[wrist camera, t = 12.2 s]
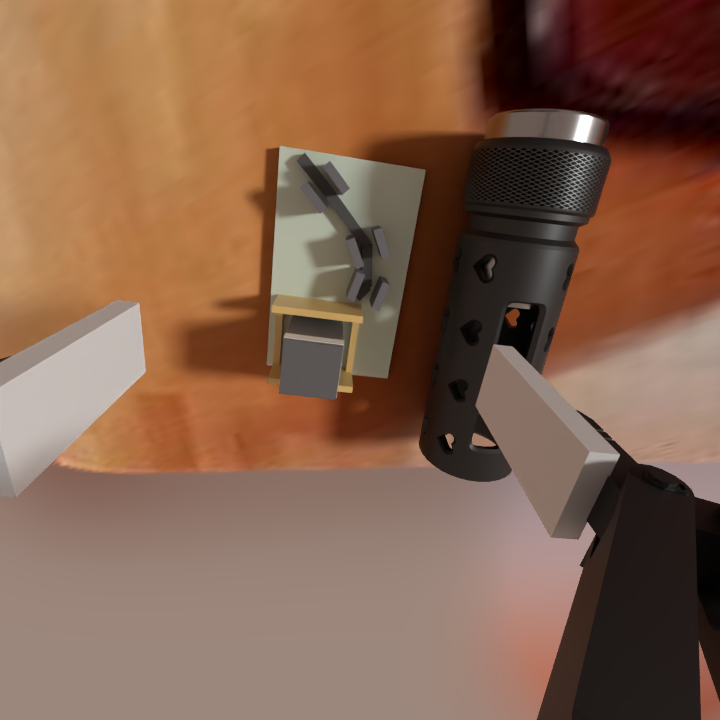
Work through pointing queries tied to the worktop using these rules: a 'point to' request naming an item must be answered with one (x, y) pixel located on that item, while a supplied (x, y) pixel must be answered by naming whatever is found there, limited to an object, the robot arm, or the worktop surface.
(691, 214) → the worktop surface
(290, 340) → the plug
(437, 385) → the muzzle brake
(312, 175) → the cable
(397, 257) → the board
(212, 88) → the worktop surface
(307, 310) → the end holder
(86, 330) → the robot arm
